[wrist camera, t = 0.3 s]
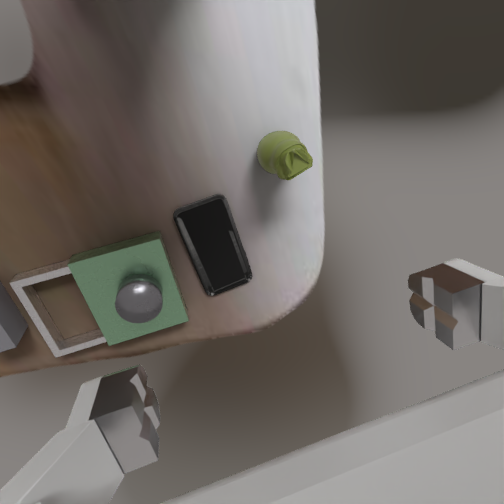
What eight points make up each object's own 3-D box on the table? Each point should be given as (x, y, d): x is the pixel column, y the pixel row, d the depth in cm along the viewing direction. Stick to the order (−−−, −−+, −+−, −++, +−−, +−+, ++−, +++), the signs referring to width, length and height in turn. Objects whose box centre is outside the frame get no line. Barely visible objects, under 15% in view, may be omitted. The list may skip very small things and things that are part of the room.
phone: (208, 297, 53) (171, 212, 46) (207, 294, 54) (170, 210, 47) (254, 279, 54) (225, 192, 47) (253, 276, 55) (223, 190, 48)
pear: (282, 122, 46) (312, 128, 37) (296, 157, 48) (327, 171, 39) (245, 142, 46) (267, 153, 37) (262, 177, 48) (285, 195, 39)
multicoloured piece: (14, 270, 45) (-5, 293, 40) (159, 230, 48) (159, 247, 42) (61, 348, 51) (50, 377, 46) (187, 309, 54) (190, 332, 49)
